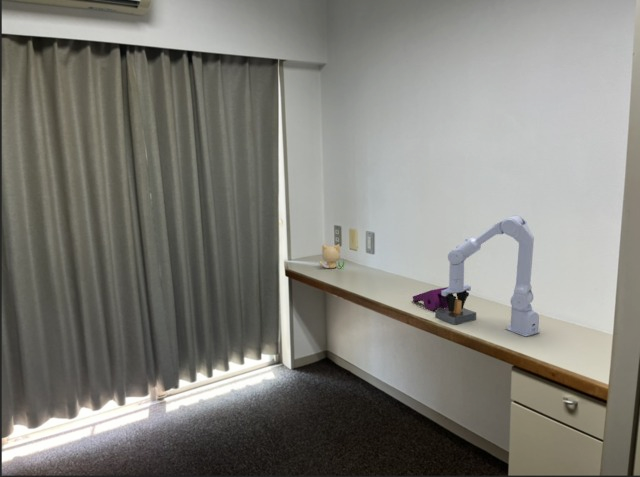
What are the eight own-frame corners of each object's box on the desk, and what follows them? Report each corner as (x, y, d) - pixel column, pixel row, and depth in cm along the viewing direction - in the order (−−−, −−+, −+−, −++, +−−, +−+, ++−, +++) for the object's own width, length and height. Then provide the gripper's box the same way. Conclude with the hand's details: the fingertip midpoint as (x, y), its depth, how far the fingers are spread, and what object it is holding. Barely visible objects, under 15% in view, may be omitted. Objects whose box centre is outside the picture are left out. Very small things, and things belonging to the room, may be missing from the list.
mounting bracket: (413, 315, 216) (436, 309, 201) (408, 297, 218) (431, 290, 203) (429, 312, 220) (453, 305, 205) (424, 294, 222) (448, 286, 207)
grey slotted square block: (476, 319, 192) (476, 312, 192) (454, 325, 187) (454, 317, 186) (456, 312, 202) (456, 305, 201) (435, 317, 196) (435, 310, 196)
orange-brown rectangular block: (461, 319, 193) (461, 300, 192) (456, 320, 192) (457, 301, 191) (454, 316, 197) (454, 298, 195) (449, 317, 196) (450, 299, 194)
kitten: (345, 266, 290) (344, 242, 287) (343, 270, 280) (343, 245, 278) (321, 266, 292) (320, 242, 289) (319, 269, 282) (318, 245, 279)
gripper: (462, 273, 198) (461, 304, 201) (436, 278, 191) (435, 310, 194) (475, 276, 192) (473, 308, 194) (448, 282, 185) (447, 315, 188)
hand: (455, 309), depth 194 cm, fingers open, 5 cm apart
